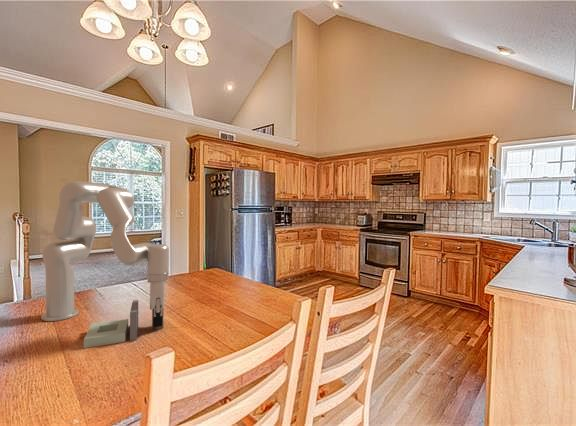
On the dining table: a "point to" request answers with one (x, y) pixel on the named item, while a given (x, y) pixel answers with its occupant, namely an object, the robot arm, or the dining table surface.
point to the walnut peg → (152, 320)
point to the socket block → (106, 333)
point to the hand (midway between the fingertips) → (157, 323)
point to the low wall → (134, 320)
